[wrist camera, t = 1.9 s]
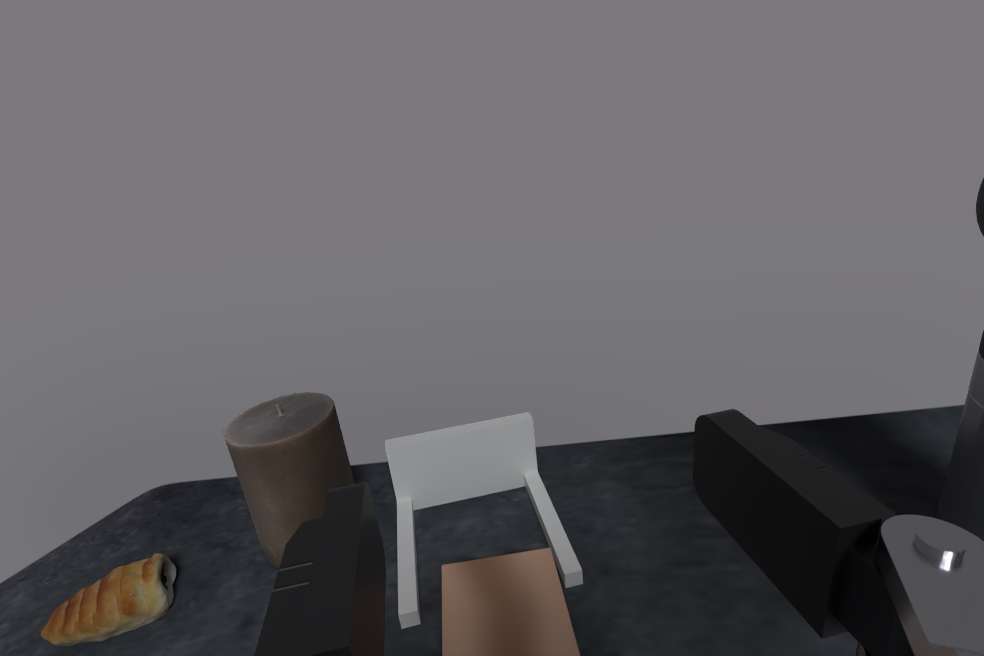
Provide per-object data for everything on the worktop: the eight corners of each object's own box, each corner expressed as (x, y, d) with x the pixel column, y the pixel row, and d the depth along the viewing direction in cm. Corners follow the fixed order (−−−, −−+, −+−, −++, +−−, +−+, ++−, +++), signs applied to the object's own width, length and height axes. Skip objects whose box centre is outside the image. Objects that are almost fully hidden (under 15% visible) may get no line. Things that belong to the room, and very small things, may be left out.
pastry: (40, 675, 39) (19, 640, 38) (62, 612, 45) (44, 580, 43) (176, 616, 43) (161, 582, 42) (180, 565, 49) (167, 534, 47)
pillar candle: (372, 546, 48) (339, 409, 43) (264, 590, 44) (213, 446, 39) (355, 491, 56) (325, 370, 51) (262, 523, 53) (221, 398, 48)
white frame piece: (534, 474, 55) (529, 412, 52) (583, 583, 41) (578, 506, 38) (399, 503, 53) (385, 440, 50) (401, 629, 39) (382, 550, 36)
